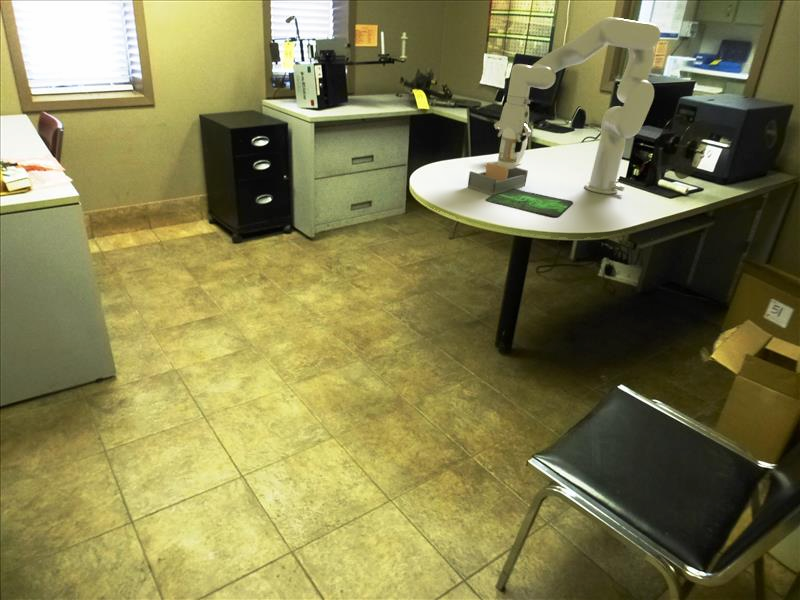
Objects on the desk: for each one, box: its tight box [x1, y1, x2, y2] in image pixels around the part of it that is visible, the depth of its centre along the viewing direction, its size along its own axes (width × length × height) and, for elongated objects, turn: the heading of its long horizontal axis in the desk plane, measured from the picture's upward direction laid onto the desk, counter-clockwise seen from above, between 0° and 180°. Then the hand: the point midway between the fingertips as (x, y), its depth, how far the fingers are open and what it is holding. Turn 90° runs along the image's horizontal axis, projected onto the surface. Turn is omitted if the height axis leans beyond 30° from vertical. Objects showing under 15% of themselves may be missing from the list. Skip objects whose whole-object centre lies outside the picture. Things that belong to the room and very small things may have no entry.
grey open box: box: [467, 166, 528, 196], centre depth 219 cm, size 12×22×6 cm, turn 136°
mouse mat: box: [484, 188, 574, 218], centre depth 206 cm, size 27×22×1 cm
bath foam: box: [496, 127, 518, 169], centre depth 215 cm, size 7×7×20 cm
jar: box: [516, 133, 529, 166], centre depth 250 cm, size 11×10×15 cm
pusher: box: [485, 162, 509, 182], centre depth 215 cm, size 9×5×7 cm, turn 46°
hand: (509, 149), depth 216 cm, fingers closed on bath foam, 7 cm apart
